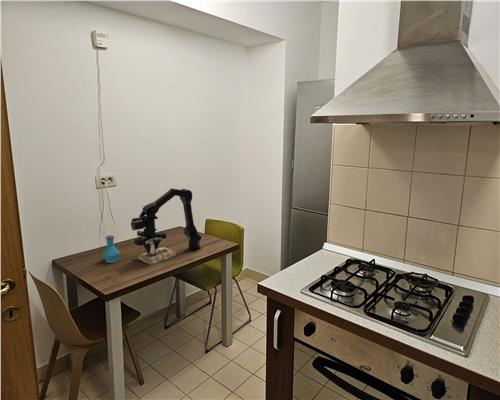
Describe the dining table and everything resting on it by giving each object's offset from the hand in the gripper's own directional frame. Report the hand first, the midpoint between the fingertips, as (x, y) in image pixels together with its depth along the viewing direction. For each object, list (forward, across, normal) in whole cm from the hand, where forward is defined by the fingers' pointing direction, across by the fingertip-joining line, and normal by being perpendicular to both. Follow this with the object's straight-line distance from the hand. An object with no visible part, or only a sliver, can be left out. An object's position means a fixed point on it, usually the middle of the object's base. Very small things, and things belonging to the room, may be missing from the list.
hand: (151, 252), depth 204 cm
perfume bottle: (+5, +16, -17) cm, 24 cm away
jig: (+4, -4, 0) cm, 6 cm away
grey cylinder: (+4, 0, 0) cm, 4 cm away
